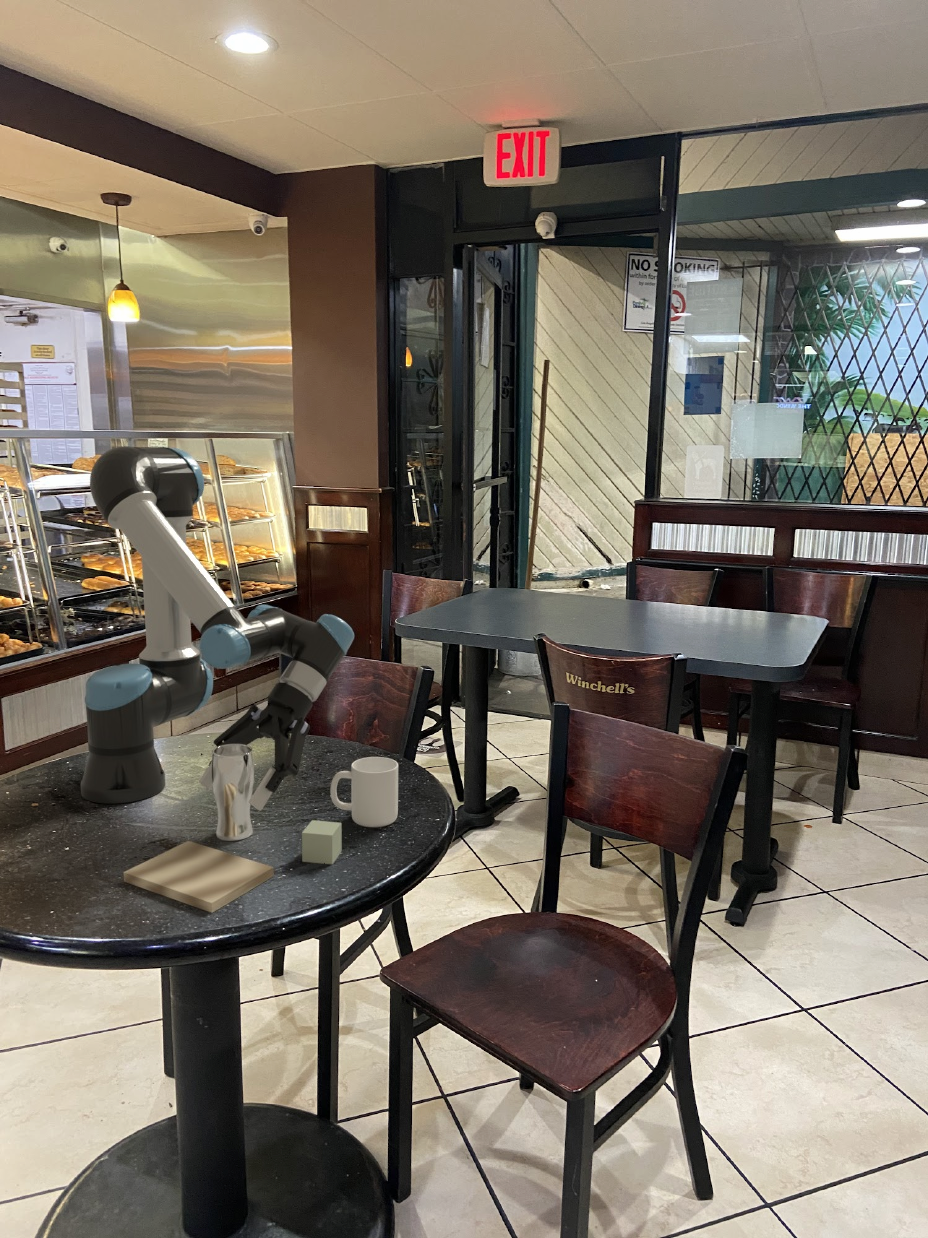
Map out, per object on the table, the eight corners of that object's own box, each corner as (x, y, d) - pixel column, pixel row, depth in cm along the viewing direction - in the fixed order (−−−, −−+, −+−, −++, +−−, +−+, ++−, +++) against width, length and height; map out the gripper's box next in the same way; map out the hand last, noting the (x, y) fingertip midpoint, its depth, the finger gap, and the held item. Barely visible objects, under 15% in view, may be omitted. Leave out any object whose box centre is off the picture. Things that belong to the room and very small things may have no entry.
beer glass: (218, 845, 147) (215, 759, 144) (209, 829, 153) (206, 746, 150) (260, 838, 150) (258, 753, 147) (249, 822, 156) (247, 741, 153)
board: (124, 881, 134) (123, 872, 134) (188, 849, 145) (188, 841, 145) (212, 913, 125) (211, 903, 125) (273, 876, 137) (273, 867, 136)
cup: (397, 827, 155) (397, 772, 154) (328, 828, 155) (328, 773, 153) (398, 809, 164) (398, 756, 162) (332, 809, 163) (332, 756, 161)
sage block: (302, 862, 142) (301, 832, 141) (312, 848, 147) (312, 820, 146) (332, 865, 141) (332, 835, 140) (341, 851, 146) (341, 822, 145)
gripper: (356, 717, 153) (290, 826, 144) (263, 691, 168) (198, 788, 159) (333, 693, 148) (263, 805, 139) (239, 669, 163) (171, 768, 154)
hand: (228, 796), depth 149 cm, fingers open, 13 cm apart
